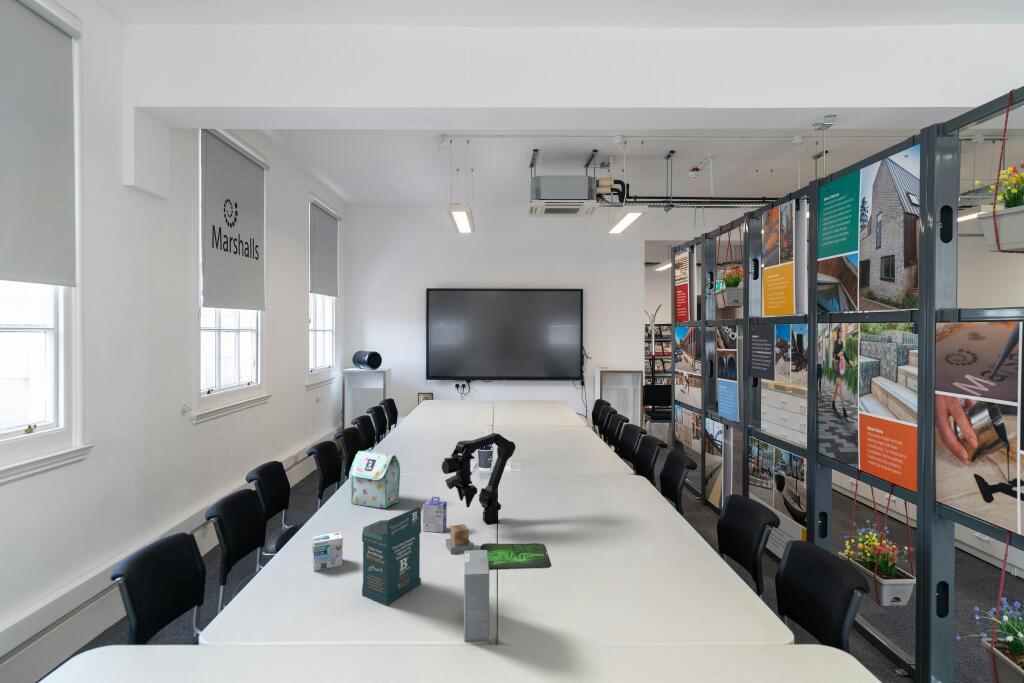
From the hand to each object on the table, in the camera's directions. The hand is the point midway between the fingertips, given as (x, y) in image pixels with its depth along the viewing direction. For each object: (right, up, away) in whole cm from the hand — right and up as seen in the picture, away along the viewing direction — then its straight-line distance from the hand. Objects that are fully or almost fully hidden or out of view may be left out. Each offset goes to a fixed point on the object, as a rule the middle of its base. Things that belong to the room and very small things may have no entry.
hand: (464, 503), depth 221 cm
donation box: (-22, -13, -51) cm, 57 cm away
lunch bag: (-50, -11, +34) cm, 61 cm away
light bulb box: (-49, -12, -34) cm, 61 cm away
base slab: (-1, -13, -19) cm, 22 cm away
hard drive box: (+11, -13, -72) cm, 74 cm away
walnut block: (0, -10, -19) cm, 21 cm away
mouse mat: (+23, -13, -25) cm, 36 cm away
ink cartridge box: (-13, -12, 0) cm, 18 cm away
